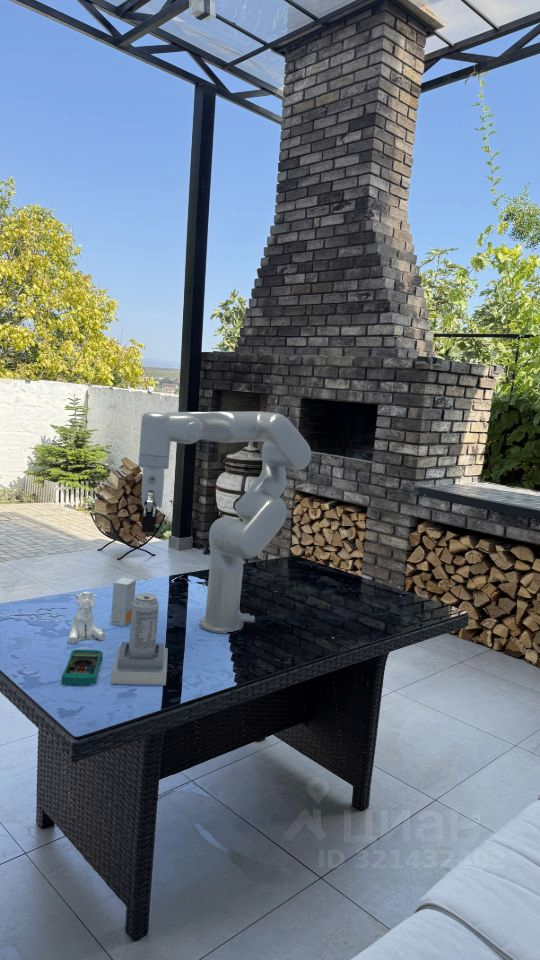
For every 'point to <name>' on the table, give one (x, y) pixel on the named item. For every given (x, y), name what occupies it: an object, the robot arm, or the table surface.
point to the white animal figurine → (84, 620)
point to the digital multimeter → (82, 667)
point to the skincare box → (122, 601)
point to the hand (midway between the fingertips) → (149, 528)
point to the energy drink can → (143, 626)
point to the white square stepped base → (140, 667)
